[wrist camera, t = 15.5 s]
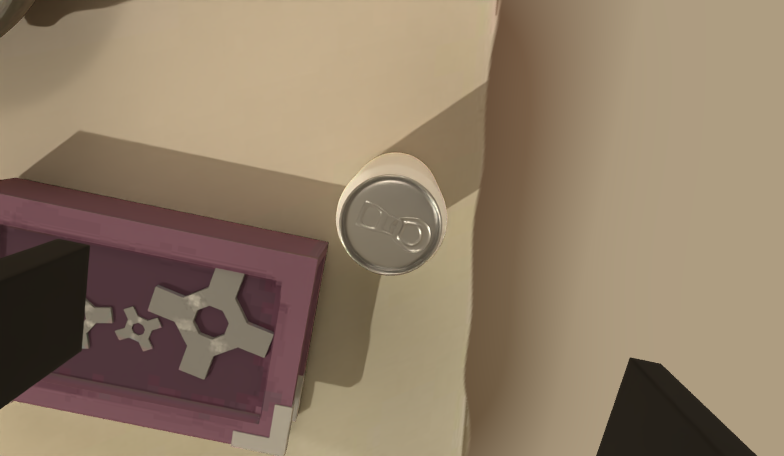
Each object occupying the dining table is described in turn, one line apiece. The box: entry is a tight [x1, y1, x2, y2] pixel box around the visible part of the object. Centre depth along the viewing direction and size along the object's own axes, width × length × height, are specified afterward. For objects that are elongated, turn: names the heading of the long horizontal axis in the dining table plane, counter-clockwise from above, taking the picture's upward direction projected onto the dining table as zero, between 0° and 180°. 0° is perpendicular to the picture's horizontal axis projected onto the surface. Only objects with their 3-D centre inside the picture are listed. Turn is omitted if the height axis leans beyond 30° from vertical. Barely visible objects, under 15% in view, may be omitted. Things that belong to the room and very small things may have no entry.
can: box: [336, 152, 447, 275], centre depth 33 cm, size 6×6×12 cm
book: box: [0, 178, 328, 456], centre depth 39 cm, size 25×16×5 cm, turn 78°
